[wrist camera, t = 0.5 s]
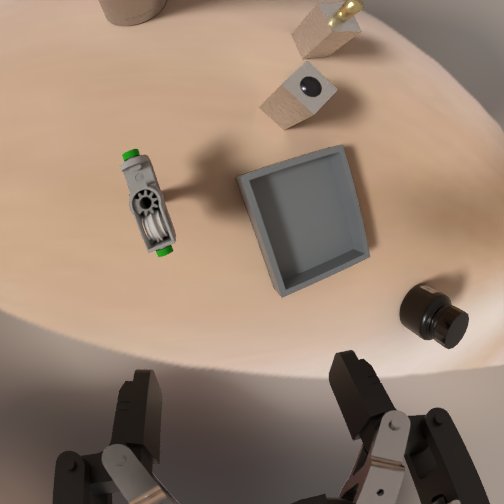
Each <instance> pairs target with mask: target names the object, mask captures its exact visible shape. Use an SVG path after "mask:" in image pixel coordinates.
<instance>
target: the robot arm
mask: <svg viewBox="0 0 504 504" xmlns="http://www.w3.org/2000/svg"><path fill="white" fill-rule="evenodd" d="M99 2H100V5H101V7H102V9H103V11H104V14H105V16H106V18H107V19H108V21H110V22H111V23H113V24H115V25H119V26H131V25H136V24H140V23H142V22H145V21H147V20H149V19H151V18H152V17H154V16H155V15H157V14H158V13H159V12H160V11H161V10H162V9H163V7H164V5H165V3H166V0H99ZM376 375H377V374H376V373H375V371H374V369H373V367H372V366H371V365H370V364H369V363H368V362H367V361H365V360H364V359H360V360H358V358H357V356H356V354H355V353H354V351H353V350H349V351H344V352H339V353H336V354H335V357H334V360H333V363H332V366H331V369H330V372H329V382H330V385H331V388H332V390H333V393H334V395H335V397H336V400H337V402H338V405H339V407H340V409H341V412H342V414H343V417H344V419H345V422H346V424H347V427H348V429H349V432H350V434H351V437H352V439H353V440H357V439H360V438H361V440H362V442H363V444H362V445H361V448H360V451H359V454H358V456H357V459H356V462H355V464H354V467H353V469H352V472H351V474H350V476H349V478H348V480H347V482H346V483H345V485H344V486H343V488H342V490H341V492H340V494H339V496H338V498H333V497H326V495H325V494H322V495H319V496H315V497H310V498H307V499H302V500H299V501H297V502H295V503H292V504H395V502H396V499H397V496H398V493H399V490H400V486H401V483H402V480H403V476H404V472H405V467H404V466H402V460H403V457H405V460H406V463H407V465H408V468H409V470H410V473H411V476H412V479H413V481H414V484H415V487H416V489H417V492H418V495H419V498H420V501H421V504H490V503H489V500H488V498H487V495H486V492H485V490H484V487H483V485H482V482H481V480H480V477H479V475H478V473H477V470H476V468H475V466H474V464H473V462H472V459H471V457H470V455H469V453H468V451H467V449H466V447H465V445H464V442H463V440H462V438H461V436H460V434H459V432H458V430H457V428H456V427H455V425H454V423H453V421H452V419H451V417H450V415H449V413H447V411H446V410H444V409H442V408H433V409H431V410H430V411H429V412H428V413H427V414H426V415H416V416H407V415H406V414H405V413H403V412H401V411H397V410H396V409H395V407H394V406H393V404H392V402H391V400H390V398H389V396H388V394H387V393H386V391H385V389H384V387H383V385H382V383H380V380H379V378H378V376H376ZM161 412H162V393H161V389H160V386H159V384H158V381H157V378H156V376H155V373H154V371H153V370H136V371H135V374H134V379H133V381H125V383H124V384H123V386H122V387H121V389H120V390H119V395H118V403H117V407H116V412H115V419H114V425H113V432H112V439H111V443H110V444H109V446H108V447H107V448H106V449H105V450H104V451H102V452H100V453H97V454H91V455H84V456H80V455H79V454H77V453H75V452H72V451H65V452H63V453H61V454H60V455H59V456H58V458H57V461H56V467H55V477H54V490H53V504H112V493H115V492H122V494H123V495H124V496H125V498H126V499H127V501H128V502H129V504H180V503H179V502H177V501H176V499H175V498H174V497H173V496H172V495H171V494H170V493H169V492H168V491H167V490H166V488H165V487H164V486H163V485H162V484H161V483H160V481H159V480H158V479H157V478H156V477H155V475H154V474H153V473H152V464H160V432H161Z"/></svg>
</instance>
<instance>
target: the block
mask: <svg viewBox="0 0 504 504" xmlns="http://www.w3.org/2000/svg"><path fill="white" fill-rule="evenodd" d="M337 90H338V89H337V88H336V87H335V86H334V85H333V84H332V83H331V82H330V81H329V80H328V79H327V78H326V77H325V76H323V75H322V74H321V73H320V72H319V71H318V70H317V69H316V68H315V67H314V66H313V65H312V64H311V63H310V62H308V61H307V62H306V63H304V64H303V65H302V66H301V67H300V68H299V69H298V70H297V71H296V72H294V73H293V74H292V75H291V76H290V77H289V78H288V79H287V80H286V81H285V82H284V83H283V84H282V85H281V86H280V87H279V88H278V89H277V90H276V91H275V92H274V93H273V94H272V95H271V96H270V97H269V98H268V99H267V100H266V101H265V102H264V103H263V104H262V105H261V106H260V107H259V108H260V109H261V110H262V111H263V112H264V113H265V114H267V115H268V116H269V117H270V118H271V119H272V120H273V121H274V122H275V123H277V124H278V125H279V126H280V127H281V128H282V129H283V130H285V129H287V128H289V127H291V126H293V125H295V124H297V123H299V122H301V121H303V120H305V119H307V118H309V117H311V116H313V115H315V113H316V112H317V111H318V110H319V109H320V108H321V107H322V106H323V105H324V104H325V103H326V102H327V101H328V100H329V99H330V97H331V96H332V95H333V94H334V93H335V92H336V91H337Z"/></svg>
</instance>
